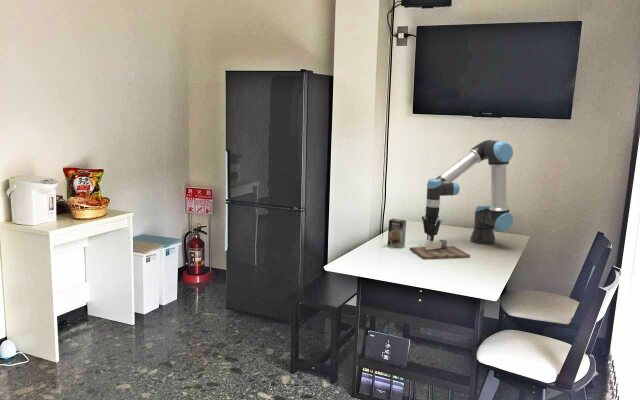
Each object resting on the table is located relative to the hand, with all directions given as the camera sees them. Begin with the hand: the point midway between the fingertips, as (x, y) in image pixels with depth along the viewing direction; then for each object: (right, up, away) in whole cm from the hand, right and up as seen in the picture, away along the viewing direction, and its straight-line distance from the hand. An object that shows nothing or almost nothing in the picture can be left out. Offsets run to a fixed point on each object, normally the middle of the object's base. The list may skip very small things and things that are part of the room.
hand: (429, 246), depth 312 cm
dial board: (+5, -4, -3) cm, 7 cm away
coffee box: (-18, -1, +11) cm, 21 cm away
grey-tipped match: (+4, -2, +1) cm, 4 cm away
